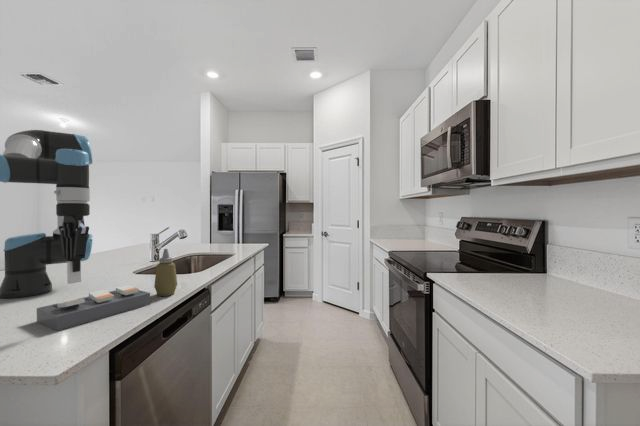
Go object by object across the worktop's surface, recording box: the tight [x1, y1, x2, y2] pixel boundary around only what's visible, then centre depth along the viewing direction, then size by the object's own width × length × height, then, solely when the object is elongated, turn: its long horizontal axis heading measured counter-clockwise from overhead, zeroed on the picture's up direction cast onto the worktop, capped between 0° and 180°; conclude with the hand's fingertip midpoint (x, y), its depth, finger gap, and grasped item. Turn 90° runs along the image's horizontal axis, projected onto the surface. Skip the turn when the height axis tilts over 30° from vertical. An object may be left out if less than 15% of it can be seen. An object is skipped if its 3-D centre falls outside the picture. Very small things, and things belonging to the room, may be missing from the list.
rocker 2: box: [115, 284, 140, 295], centre depth 102 cm, size 6×4×1 cm
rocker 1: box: [56, 297, 85, 308], centre depth 88 cm, size 6×4×1 cm
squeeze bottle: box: [154, 248, 178, 297], centre depth 116 cm, size 8×8×18 cm
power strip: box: [36, 289, 151, 332], centre depth 98 cm, size 20×26×5 cm
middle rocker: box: [88, 289, 114, 303], centre depth 95 cm, size 6×4×1 cm
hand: (74, 282), depth 87 cm, fingers closed
